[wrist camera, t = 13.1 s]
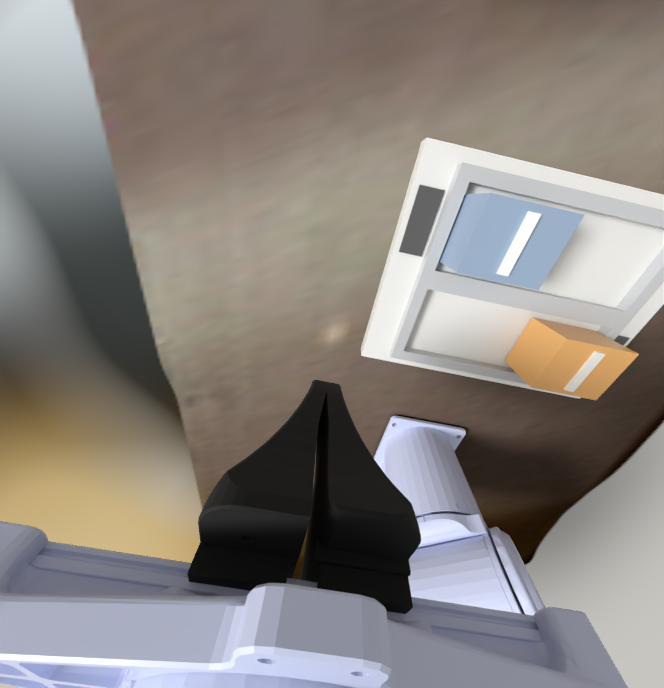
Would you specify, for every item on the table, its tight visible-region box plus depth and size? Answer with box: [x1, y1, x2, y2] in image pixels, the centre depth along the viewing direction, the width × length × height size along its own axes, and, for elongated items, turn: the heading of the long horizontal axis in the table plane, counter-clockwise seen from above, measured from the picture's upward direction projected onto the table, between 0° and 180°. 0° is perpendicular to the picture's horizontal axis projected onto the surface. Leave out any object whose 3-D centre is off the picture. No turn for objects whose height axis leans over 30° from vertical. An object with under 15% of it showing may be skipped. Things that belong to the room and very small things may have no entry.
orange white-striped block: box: [505, 317, 639, 400], centre depth 19 cm, size 4×5×4 cm
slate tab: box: [439, 193, 584, 290], centre depth 15 cm, size 4×5×4 cm
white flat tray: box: [361, 138, 664, 399], centre depth 19 cm, size 15×20×2 cm
